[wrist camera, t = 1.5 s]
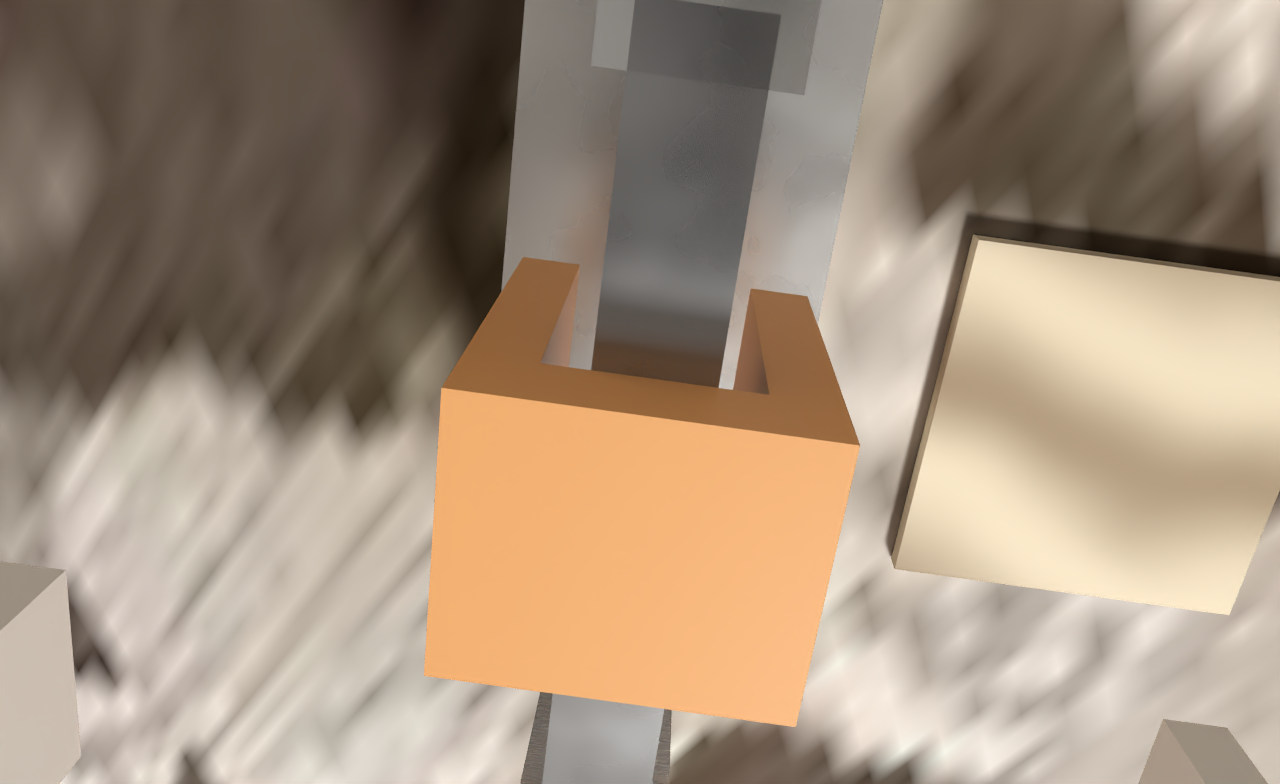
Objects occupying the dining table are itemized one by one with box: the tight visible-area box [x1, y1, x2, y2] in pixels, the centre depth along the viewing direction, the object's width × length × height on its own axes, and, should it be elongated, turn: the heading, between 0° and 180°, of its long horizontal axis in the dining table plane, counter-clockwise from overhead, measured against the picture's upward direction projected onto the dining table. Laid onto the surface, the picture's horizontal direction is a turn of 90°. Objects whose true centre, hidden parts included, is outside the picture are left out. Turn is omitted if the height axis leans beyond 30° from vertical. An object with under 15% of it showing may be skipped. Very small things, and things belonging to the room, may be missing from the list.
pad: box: [891, 235, 1280, 615], centre depth 29 cm, size 10×10×1 cm
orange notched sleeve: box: [424, 257, 860, 727], centre depth 19 cm, size 5×6×8 cm
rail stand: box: [501, 0, 883, 784], centre depth 23 cm, size 20×8×12 cm, turn 173°
